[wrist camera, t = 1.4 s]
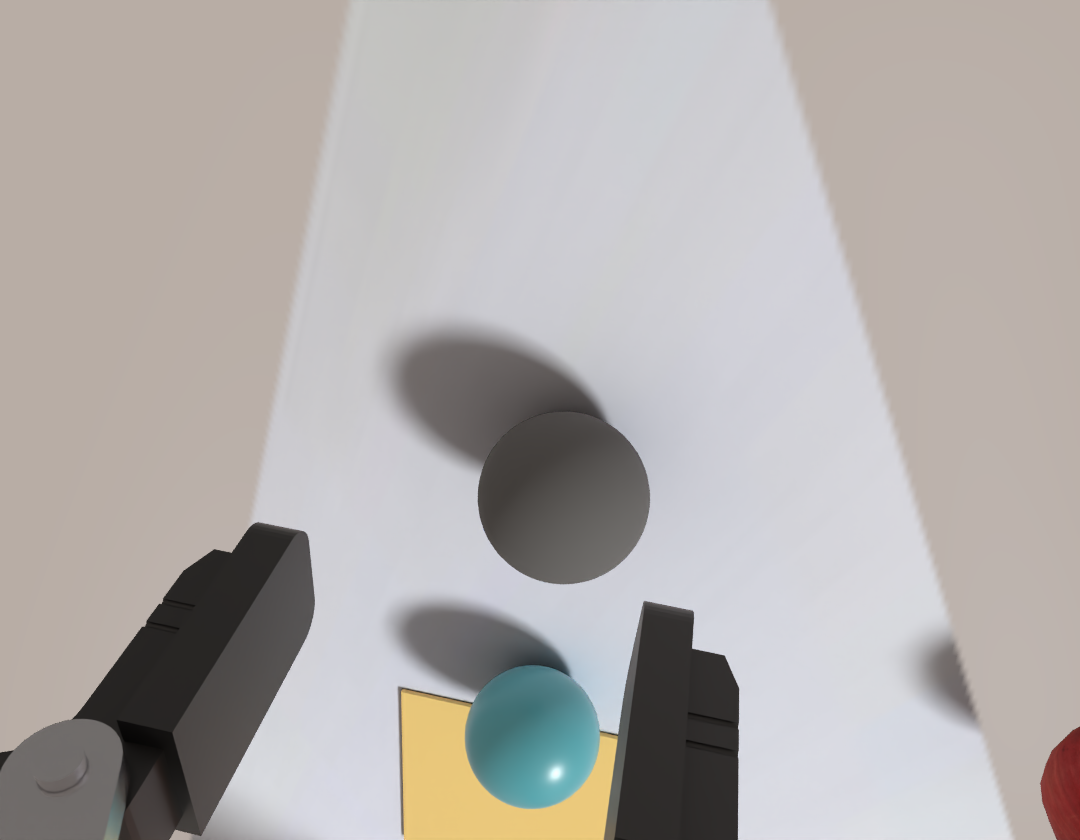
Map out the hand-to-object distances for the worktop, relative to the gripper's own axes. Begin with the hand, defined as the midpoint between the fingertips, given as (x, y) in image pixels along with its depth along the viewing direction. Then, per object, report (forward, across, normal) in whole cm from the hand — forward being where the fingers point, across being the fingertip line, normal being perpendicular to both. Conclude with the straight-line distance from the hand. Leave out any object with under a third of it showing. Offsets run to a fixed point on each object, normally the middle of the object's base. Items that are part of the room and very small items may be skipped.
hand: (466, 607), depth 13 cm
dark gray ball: (+14, 0, +10) cm, 18 cm away
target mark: (+17, 0, +34) cm, 38 cm away
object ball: (+14, 0, +24) cm, 28 cm away
